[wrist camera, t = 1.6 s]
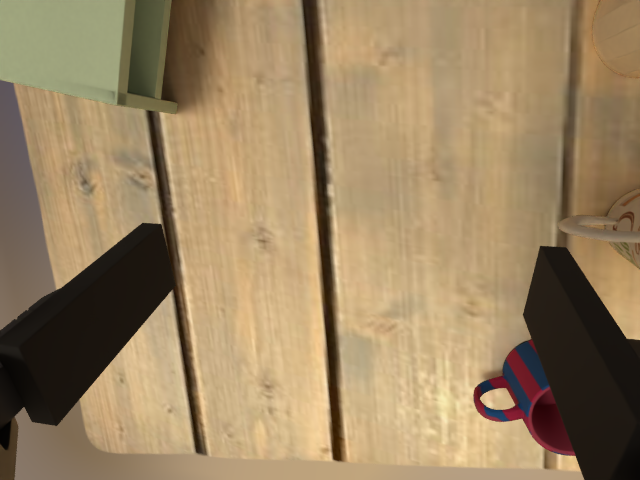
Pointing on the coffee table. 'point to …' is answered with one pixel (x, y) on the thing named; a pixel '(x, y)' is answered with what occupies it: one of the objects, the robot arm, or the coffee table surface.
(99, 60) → the shelf
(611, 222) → the mug
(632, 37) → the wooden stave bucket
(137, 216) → the coffee table surface
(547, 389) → the cup
